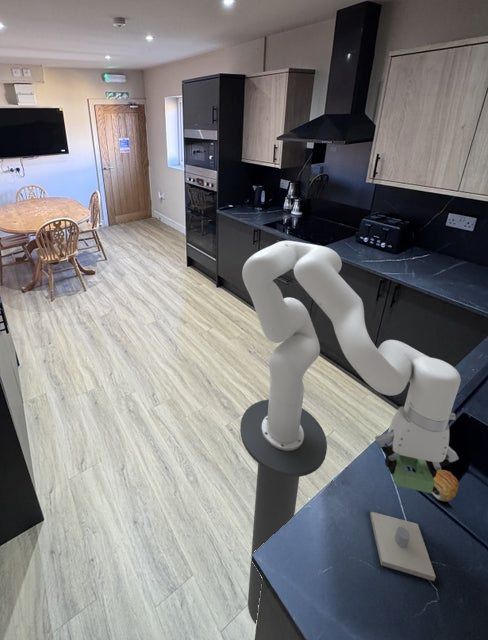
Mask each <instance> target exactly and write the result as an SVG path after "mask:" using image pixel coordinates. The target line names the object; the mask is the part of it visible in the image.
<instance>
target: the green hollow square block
mask: <svg viewBox="0 0 488 640" xmlns="http://www.w3.org/2000/svg"><path fill="white" fill-rule="evenodd" d="M393 452H394V451H393ZM396 461H397V465H396V467H395V471H394V474H391V475H392V478H393V481H394V484H395V486H397V487H401V488H405V489H410V490H414V491H418V492H423V493H426V494H432V490H433V487H434V484H435V481H434V479H433V477H432V475H431V473H430V470H429V468H428V466H427V464H426V460H421V459H417V458H412V457H407V456H403V455H400V456H399V457H398V458H397V459H396ZM404 467H406V468H407V467H408V468H412V469H414V471H410V470H407V469H404Z"/></svg>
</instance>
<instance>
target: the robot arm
mask: <svg viewBox="0 0 488 640" xmlns="http://www.w3.org/2000/svg"><path fill="white" fill-rule="evenodd" d="M342 262H343V261H342V258H341V257H340V255H339V254H338V253H337V252H336V251H335V250H334V249H332V248H331V247H327V246H323V245H319V244H314V243H306V242H301V241H294V240H281V241H278V242H275V243H274V244H272V245H269V246H266V247H264V248H263V249H261V250H259V251H257V252H255V253H253V254H252V255H251V256H250V257H249V258H248V259H246V261H245V263H244V264H243V267H242V272H241V276H242V280H243V283H244V286H245V289H246V290H247V292H248V294H249V296H250V298H251V301H252V304H253V307H254V310H255V313H256V315H257V318H258V322H259V324H260V327H261V330H262V333H263V334H264V336H265V338H266V339H267V340H268V341H269V342H271V343H274V344H279V345H278V346H277V347H276V348H275V349H274V350H273V351H272V353H271V354H270V355H269V359H268V368H269V375H270V376H269V377H270V379H269V392H268V399H269V405H268V416H266V417H265V418H264V420H263V422H262V433H263V436H264V438H265V439H266V440H267V441H268V442H269V443H270V444H271V445H272V446H274V447H275V448H278V449H280V450H285V451H291V450H295V449H297V448H299V447H300V446H301V445H302V443H303V440H304V432H303V429H302V427H301V425H300V419H301V411H302V408H303V403H304V402H303V401H304V394H305V385H304V376H305V374H306V372H307V371H308V370H309V369H310V367H311V366H312V365H313V364H314V363H315V362H316V360H317V359H318V358H319V356H320V353H321V346H320V342H319V338H318V335H317V333H316V330H315V327H314V324H313V321H312V319H311V316H310V313H309V311H308V309H307V308H306V306H305V304H304V303H303V302H302V301H300V300H299V299H297V298H294V297H284V296H283V293H282V291H281V289H280V287H279V286H278V284H276V282H275V281H274V280H275V279H277V278H278V277H280V276H282V275H284V274H286V273H287V272H289V271H290V270H293V275H294V278H295V280H296V281H297V282H298V284H299V285H300V286H301V287H302V288H303V289H304V290H305V292H306V293H307V294H308V296H310V298H311V299H312V300H313V301H314V302H315V303H316V305H317V306H318V307H319V308H320V309H321V310H322V311H323V313H324V314H325V315H326V316H327V318H329V320H330V321H331V324H332V326H333V331H334V333H335V336H336V339H337V341H338V344H339V347H340V349H341V351H342V353H343V355H344V357H345V359H346V360H347V361H348V362H349V364H350V366H351V367H352V368H353V369H354V370H355V371H356V373H357V374H358V375H359V376H360V377H361V379H362V380H363V381H364V382H365V383H366V384H368V386H369V387H370V388H372V389H373V390H375V391H376V392H378V393H379V394H382V395H385V396H390V397H391V396H397V395H400V394H401V393H402V392H404V390H405V389H406V387H407V385H408V384H409V387H408V391H407V395H406V398H405V402H404V406H399V408H398V409H397V410H396V412H395V414H394V415H393V417H392V419H391V422H390V425H389V427H388V430H387V432H385V433H383V434H379V435H376V436H375V437H374V439H375V443H376V445H378V447H379V448H380V449H381V451H382V452H383V453H384V454H385V459H384V464H385V467H387V469H388V471H389V474H390V475H392V474H394V471H395V467H396V465H397V461H396V459H397V458H398V457H399V456H400V455H403V456H407V457H412V458H417V459H421V460H425V461H426V464H427V466H428V468H429V470H430V473H431V475H432V477H433V479H434V477H435V476H436V473H437V470H438V471H439V470H442V468H443V467H446V466H449V465H451V463H453V462H456V461H458V460H459V459H460V458H459V456H458V454H457V452H456V451H455V450H454V449H453V448H452V447H451V446H449V444H450V425H449V422H450V421H451V420H453V421H456V419H457V416H456V414H455V412H452V411H453V408H454V404H455V401H456V397H457V394H458V392H459V389H460V386H461V382H462V381H461V378H462V377H461V375H460V373H459V371H458V369H456V368H455V367H454V366H453V365H451V364H450V363H448V362H446V361H444V360H442V359H439V358H435V357H430V356H428V355H427V354H425V353H423V352H420V351H419V350H417V349H415V348H414V347H412V346H410V345H409V344H407V343H405V342H402V341H399V340H397V339H386V340H385V341H383V342H382V343H381V344H380V345H379V346H378V347H376V345H375V343H374V342H373V341H372V339H371V337H370V335H369V332H368V329H367V326H366V321H365V309H364V307H365V306H364V301H363V299H362V298H361V296H359V294H358V293H356V291H355V290H354V289H353V288H352V287H351V286H350V285H349V284H348V283H347V281H345V280H344V278H343V277H342V276H341V275H340V274H339V273H340V271H341V269H342V266H343V263H342ZM388 443H389V444H388ZM393 451H394V452H393Z"/></svg>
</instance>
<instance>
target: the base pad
mask: <svg viewBox="0 0 488 640" xmlns="http://www.w3.org/2000/svg"><path fill="white" fill-rule="evenodd" d="M369 517H370V521H371V527H372V530H373V535H374V540H375V544H376V548H377V553H378V557H379V558H378V559H379V561H380V565H381V566H382V567H386V568H389V569H392V570H394V571H395V570H396V571H399V572H403V573H406V574H409V575H412V576H416V577H419V578H421V579H425V580H428V581H432V582H435V580H436V578H437V576H436V574H435V571H434V568H433V564H432V562H431V559H430V555H429V553H428V550H427V547H426V545H425V544H426V543H425V541H424V537H423V535H422V532H421V529H420V527H419V526H420V525H419V523H416V522H413V521H409V520H405V519H401V518H397V517H393V516H389V515H386V514H382V513H378V512H376V511H375V512H374V511H370V513H369Z"/></svg>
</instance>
